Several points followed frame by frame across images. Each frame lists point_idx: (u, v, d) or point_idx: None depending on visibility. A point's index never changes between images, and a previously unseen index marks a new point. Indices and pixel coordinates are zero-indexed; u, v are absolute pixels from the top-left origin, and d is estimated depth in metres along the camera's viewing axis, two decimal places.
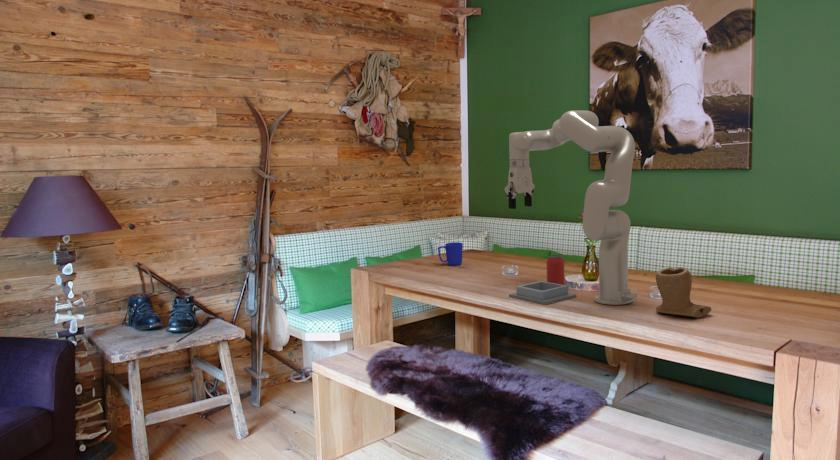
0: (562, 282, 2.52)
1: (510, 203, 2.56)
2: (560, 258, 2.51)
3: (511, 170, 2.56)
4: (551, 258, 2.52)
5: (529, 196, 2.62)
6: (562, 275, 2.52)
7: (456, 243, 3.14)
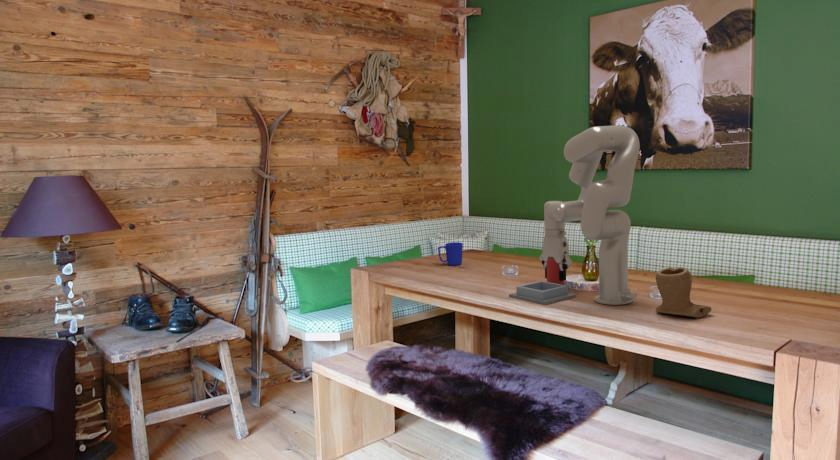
0: (562, 282, 2.52)
1: (564, 275, 2.51)
2: None
3: (563, 240, 2.49)
4: (551, 258, 2.52)
5: None
6: None
7: (456, 243, 3.14)
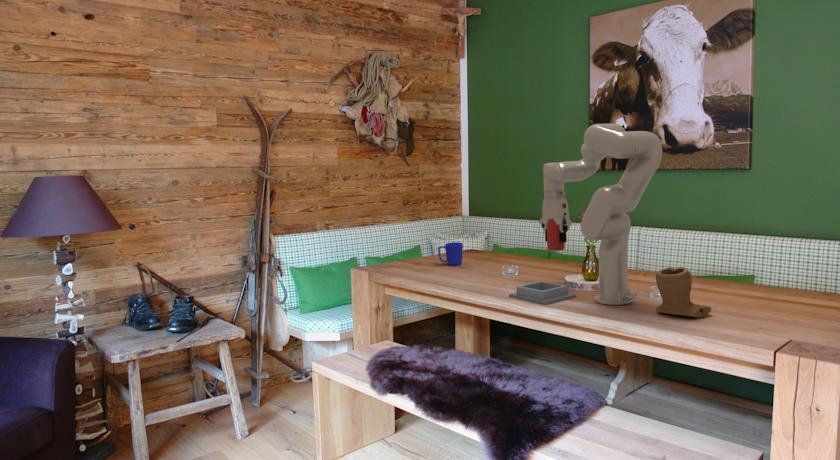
0: (562, 244, 2.50)
1: (564, 237, 2.48)
2: None
3: (563, 201, 2.47)
4: (551, 220, 2.50)
5: None
6: None
7: (456, 243, 3.14)
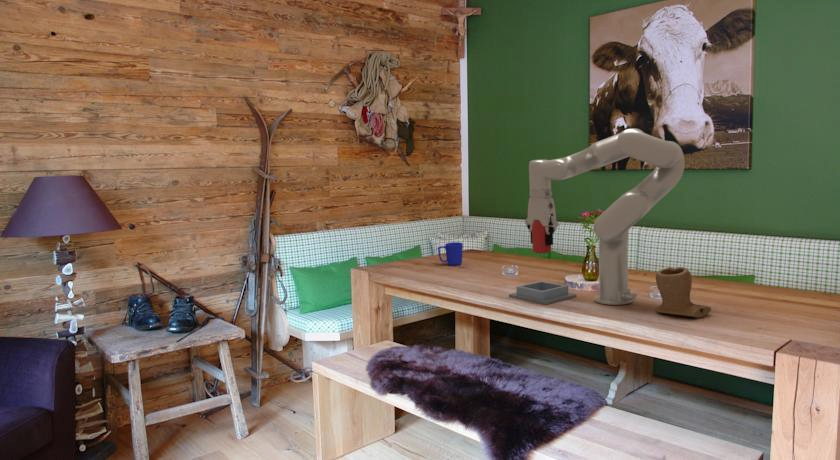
0: (548, 247, 2.35)
1: (551, 239, 2.33)
2: None
3: (549, 201, 2.31)
4: (536, 221, 2.34)
5: None
6: None
7: (456, 243, 3.14)
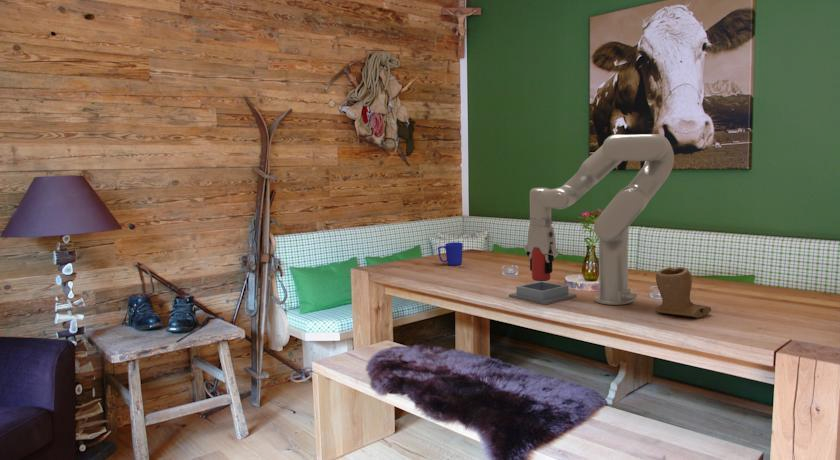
0: (548, 275, 2.36)
1: (550, 267, 2.34)
2: None
3: (549, 229, 2.32)
4: (536, 249, 2.35)
5: None
6: None
7: (456, 243, 3.14)
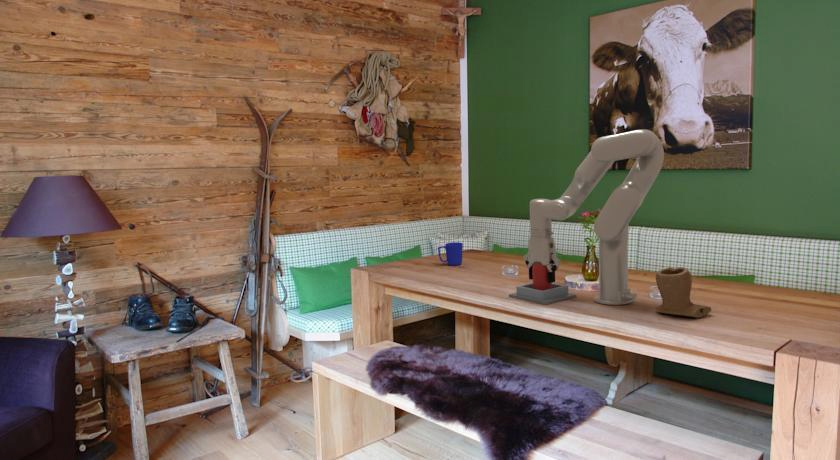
0: None
1: (553, 277, 2.34)
2: None
3: (550, 240, 2.33)
4: (537, 264, 2.36)
5: None
6: None
7: (456, 243, 3.14)
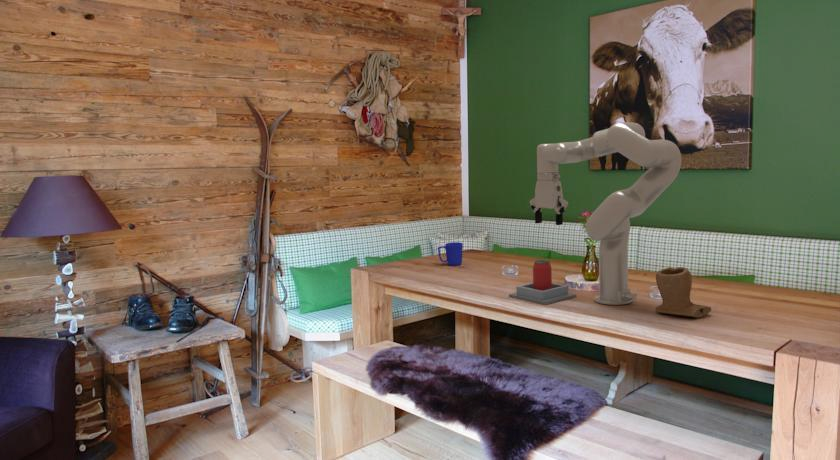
0: None
1: (561, 219, 2.39)
2: (547, 264, 2.35)
3: (557, 184, 2.38)
4: (537, 264, 2.36)
5: (540, 212, 2.48)
6: (549, 282, 2.36)
7: (456, 243, 3.14)
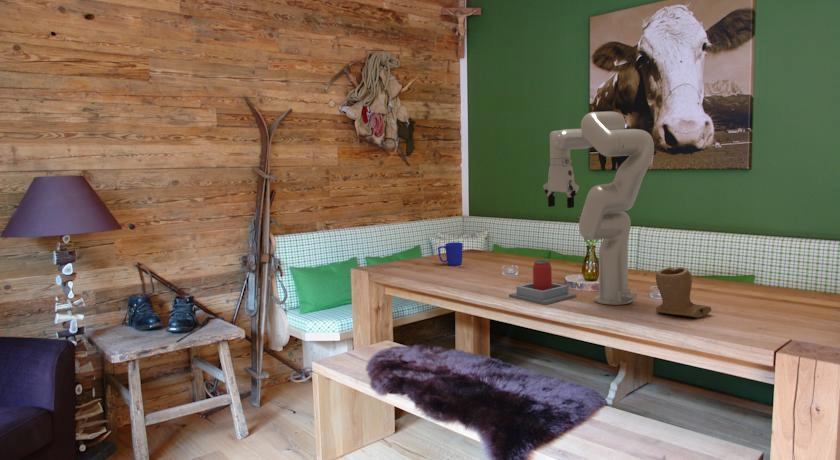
0: None
1: (572, 202, 2.51)
2: (547, 264, 2.35)
3: (568, 168, 2.51)
4: (537, 264, 2.36)
5: (553, 196, 2.60)
6: (549, 282, 2.36)
7: (456, 243, 3.14)
